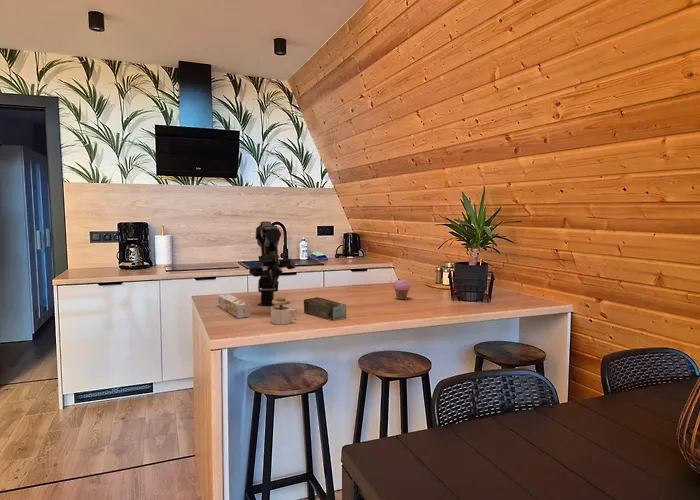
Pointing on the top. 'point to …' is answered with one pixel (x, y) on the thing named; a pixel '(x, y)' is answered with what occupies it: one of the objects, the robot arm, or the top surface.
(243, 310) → the box
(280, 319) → the press pot
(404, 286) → the cupcake
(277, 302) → the plunger
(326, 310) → the beverage carton
